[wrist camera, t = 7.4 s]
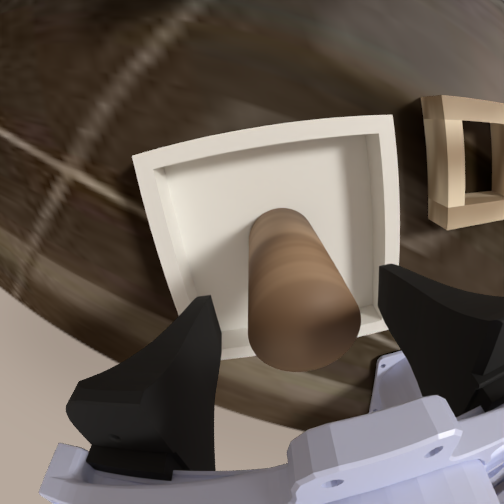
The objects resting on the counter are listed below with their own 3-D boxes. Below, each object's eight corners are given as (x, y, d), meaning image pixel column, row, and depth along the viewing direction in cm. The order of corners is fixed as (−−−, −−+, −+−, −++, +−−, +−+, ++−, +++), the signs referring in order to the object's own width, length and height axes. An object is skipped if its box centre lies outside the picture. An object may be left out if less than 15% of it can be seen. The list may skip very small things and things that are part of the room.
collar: (501, 206, 18) (520, 216, 15) (428, 218, 18) (447, 230, 16) (498, 105, 15) (519, 106, 12) (420, 97, 15) (441, 95, 13)
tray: (381, 309, 21) (393, 328, 19) (200, 340, 22) (196, 362, 20) (374, 115, 16) (392, 114, 13) (146, 152, 16) (131, 155, 14)
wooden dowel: (315, 264, 19) (356, 362, 11) (253, 272, 19) (255, 377, 11) (311, 204, 17) (363, 272, 9) (244, 212, 18) (239, 290, 9)
